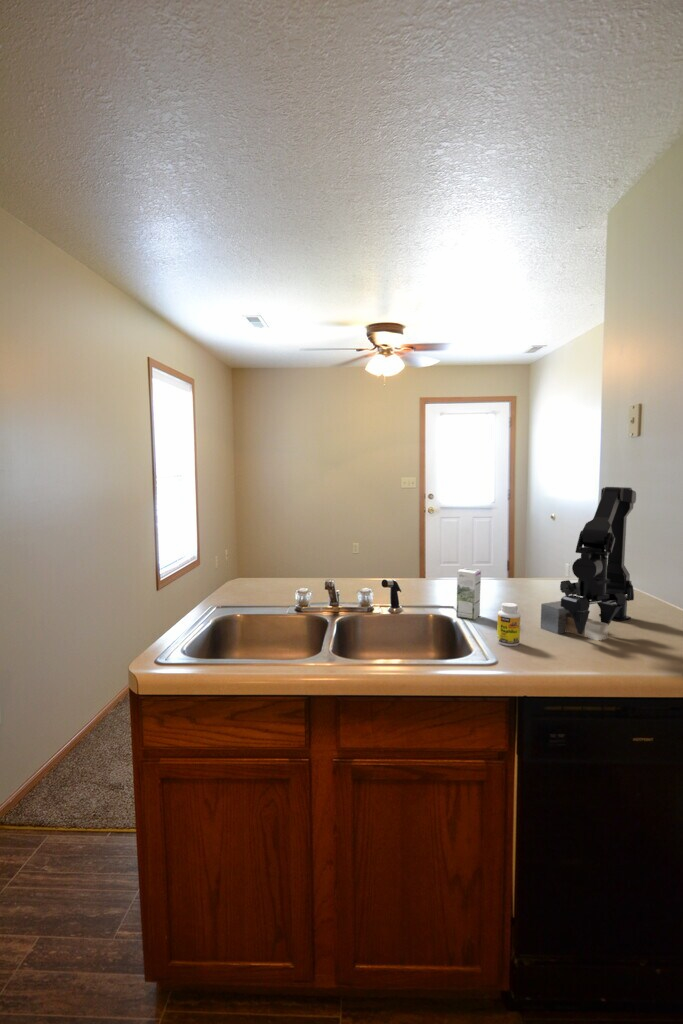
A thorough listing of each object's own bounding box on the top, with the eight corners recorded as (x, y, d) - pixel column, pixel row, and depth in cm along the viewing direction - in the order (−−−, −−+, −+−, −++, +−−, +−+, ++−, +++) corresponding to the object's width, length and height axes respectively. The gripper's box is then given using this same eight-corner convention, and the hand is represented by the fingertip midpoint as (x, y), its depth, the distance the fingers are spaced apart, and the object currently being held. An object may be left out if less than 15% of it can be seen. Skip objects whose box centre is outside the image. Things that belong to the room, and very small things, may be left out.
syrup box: (480, 615, 161) (481, 569, 160) (474, 620, 156) (475, 572, 155) (462, 613, 164) (463, 567, 163) (455, 617, 159) (456, 570, 158)
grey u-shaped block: (570, 622, 154) (571, 599, 154) (587, 628, 149) (588, 604, 149) (540, 628, 149) (541, 603, 149) (557, 634, 144) (558, 608, 143)
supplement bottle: (496, 645, 134) (497, 606, 133) (497, 638, 139) (498, 600, 138) (519, 647, 132) (521, 608, 131) (519, 641, 138) (520, 602, 137)
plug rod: (556, 623, 154) (556, 609, 154) (607, 638, 140) (608, 623, 140) (546, 625, 152) (547, 611, 152) (598, 640, 138) (598, 626, 138)
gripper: (592, 566, 151) (589, 619, 152) (545, 571, 143) (543, 628, 144) (628, 573, 141) (625, 630, 142) (580, 579, 133) (577, 639, 134)
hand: (592, 631), depth 141 cm, fingers open, 9 cm apart
